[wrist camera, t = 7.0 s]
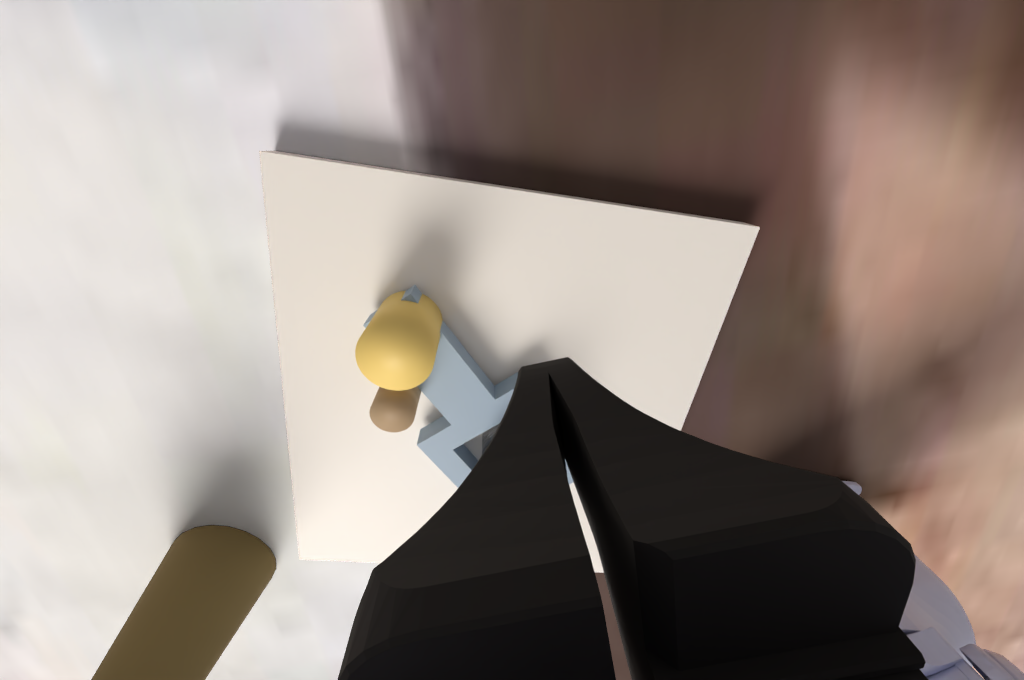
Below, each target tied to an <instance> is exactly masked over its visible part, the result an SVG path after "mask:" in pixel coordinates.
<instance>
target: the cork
mask: <svg viewBox="0 0 1024 680" xmlns="http://www.w3.org/2000/svg"><path fill="white" fill-rule="evenodd" d="M275 570H276V560H275V557H274V555H273V553H272V551H271V550H270V548H269V547H268V546H267V545H266V544H264V543H263V542H262V541H261V540H260V539H259V538H257V537H255V536H253V535H251V534H249V533H247V532H246V531H242V530H239V529H235V528H232V527H228V526H216V525H209V526H202V527H195V528H193V529H190V530H188V531H186V532H183V533H182V534H181V535H180V536H179V537H178V538H177V539H176V540H175V541H174V542H173V544H172V545H171V547H170V549H169V550H168V552H167V554H166V555H165V557H164V559H163V561H162V562H161V564H160V566H159V567H158V569H157V571H156V572H155V574H154V576H153V577H152V579H151V581H150V582H149V584H148V586H147V587H146V589H145V591H144V592H143V594H142V596H141V597H140V599H139V601H138V602H137V604H136V606H135V607H134V609H133V611H132V612H131V614H130V616H129V617H128V619H127V621H126V623H125V624H124V626H123V628H122V629H121V631H120V633H119V634H118V636H117V638H116V639H115V641H114V643H113V644H112V646H111V648H110V649H109V651H108V653H107V654H106V656H105V658H104V659H103V661H102V663H101V664H100V666H99V668H98V669H97V671H96V673H95V674H94V676H93V678H92V679H91V680H205V679H206V677H207V676H208V674H209V673H210V671H211V670H212V668H213V667H214V665H215V664H216V662H217V660H218V659H219V657H220V656H221V654H222V653H223V651H224V650H225V648H226V647H227V645H228V644H229V642H230V641H231V639H232V638H233V636H234V635H235V633H236V632H237V630H238V628H239V627H240V625H241V624H242V622H243V621H244V619H245V618H246V616H247V615H248V613H249V612H250V610H251V609H252V607H253V606H254V604H255V603H256V601H257V600H258V598H259V596H260V595H261V593H262V592H263V590H264V589H265V587H266V586H267V584H268V583H269V581H270V580H271V578H272V576H273V574H274V572H275Z"/></svg>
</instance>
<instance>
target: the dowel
mask: <svg viewBox="0 0 1024 680" xmlns="http://www.w3.org/2000/svg"><path fill="white" fill-rule="evenodd" d="M420 395H421V390H420V389H419V388H418V387H417V386H416V387H414V388H412V389H408V390H401V391H395V390H388V389H385V388H381V387H379V389H378V391H377V394H376V396H375V398H374V400H373V403H372V405H371V407H370V412H369V413H370V418H371V420H372V422H373V423H374V424H375V425H376V426H377V427H378V428H380V429H381V430H384V431H387V432H401V431H404V430H406V429H408V428H409V427H410V426H411V425H412V423H413V421H414V418H415V415H416V411H417V407H418V403H419V399H420Z"/></svg>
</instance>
